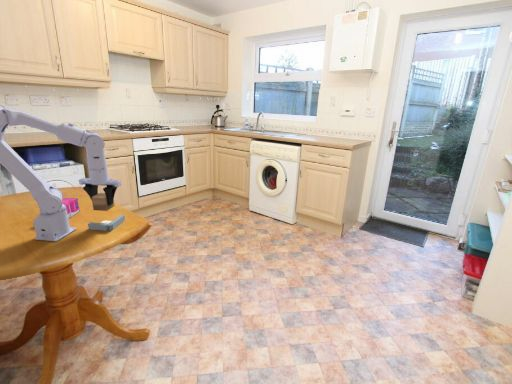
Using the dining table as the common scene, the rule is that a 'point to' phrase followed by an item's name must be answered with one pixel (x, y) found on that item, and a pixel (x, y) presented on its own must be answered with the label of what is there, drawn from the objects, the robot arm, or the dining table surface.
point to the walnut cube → (101, 202)
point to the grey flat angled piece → (106, 224)
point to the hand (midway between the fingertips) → (103, 204)
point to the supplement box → (71, 206)
